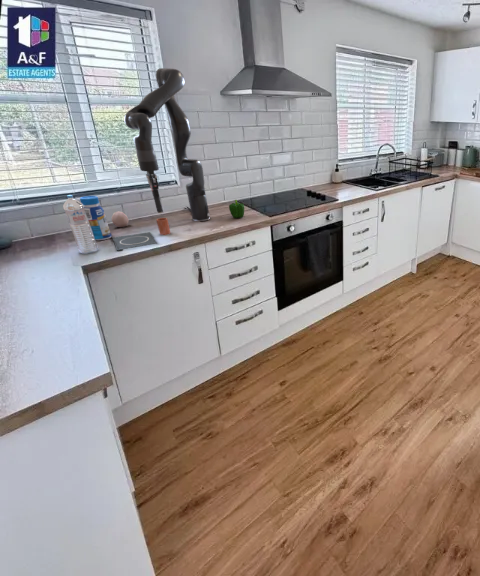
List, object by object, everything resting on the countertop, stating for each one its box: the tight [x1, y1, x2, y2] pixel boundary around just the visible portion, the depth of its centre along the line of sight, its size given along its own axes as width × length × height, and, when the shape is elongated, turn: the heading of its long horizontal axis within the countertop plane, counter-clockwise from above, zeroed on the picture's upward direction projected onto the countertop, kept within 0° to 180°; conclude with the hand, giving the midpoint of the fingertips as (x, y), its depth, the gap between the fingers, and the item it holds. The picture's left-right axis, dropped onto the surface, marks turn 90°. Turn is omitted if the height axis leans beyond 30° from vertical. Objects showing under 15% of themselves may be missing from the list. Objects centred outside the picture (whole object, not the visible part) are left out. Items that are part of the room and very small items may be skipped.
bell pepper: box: [228, 199, 245, 219], centre depth 217 cm, size 8×8×10 cm
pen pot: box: [156, 217, 171, 236], centre depth 186 cm, size 5×5×8 cm
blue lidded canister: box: [79, 195, 113, 241], centre depth 176 cm, size 8×8×20 cm
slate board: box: [112, 231, 158, 252], centre depth 177 cm, size 20×16×1 cm
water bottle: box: [62, 194, 99, 255], centre depth 159 cm, size 7×7×25 cm
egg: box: [111, 211, 129, 228], centre depth 194 cm, size 7×7×8 cm
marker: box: [150, 186, 164, 214], centre depth 180 cm, size 2×2×13 cm
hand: (156, 196), depth 180 cm, fingers closed on marker, 2 cm apart
